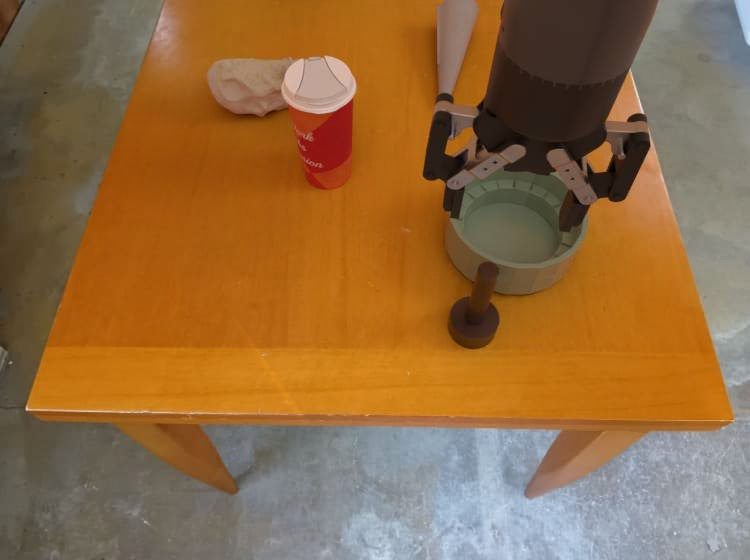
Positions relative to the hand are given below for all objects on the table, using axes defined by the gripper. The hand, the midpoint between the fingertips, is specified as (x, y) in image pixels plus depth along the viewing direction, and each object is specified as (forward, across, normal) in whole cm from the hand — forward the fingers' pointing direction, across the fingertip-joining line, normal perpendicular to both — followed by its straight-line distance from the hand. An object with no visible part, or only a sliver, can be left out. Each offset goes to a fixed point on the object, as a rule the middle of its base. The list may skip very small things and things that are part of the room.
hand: (509, 216), depth 45 cm
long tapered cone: (+20, -5, +43) cm, 48 cm away
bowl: (+20, +3, +12) cm, 23 cm away
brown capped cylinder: (+20, 0, 0) cm, 20 cm away
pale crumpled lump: (+20, -30, +33) cm, 49 cm away
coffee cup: (+20, -20, +20) cm, 35 cm away
